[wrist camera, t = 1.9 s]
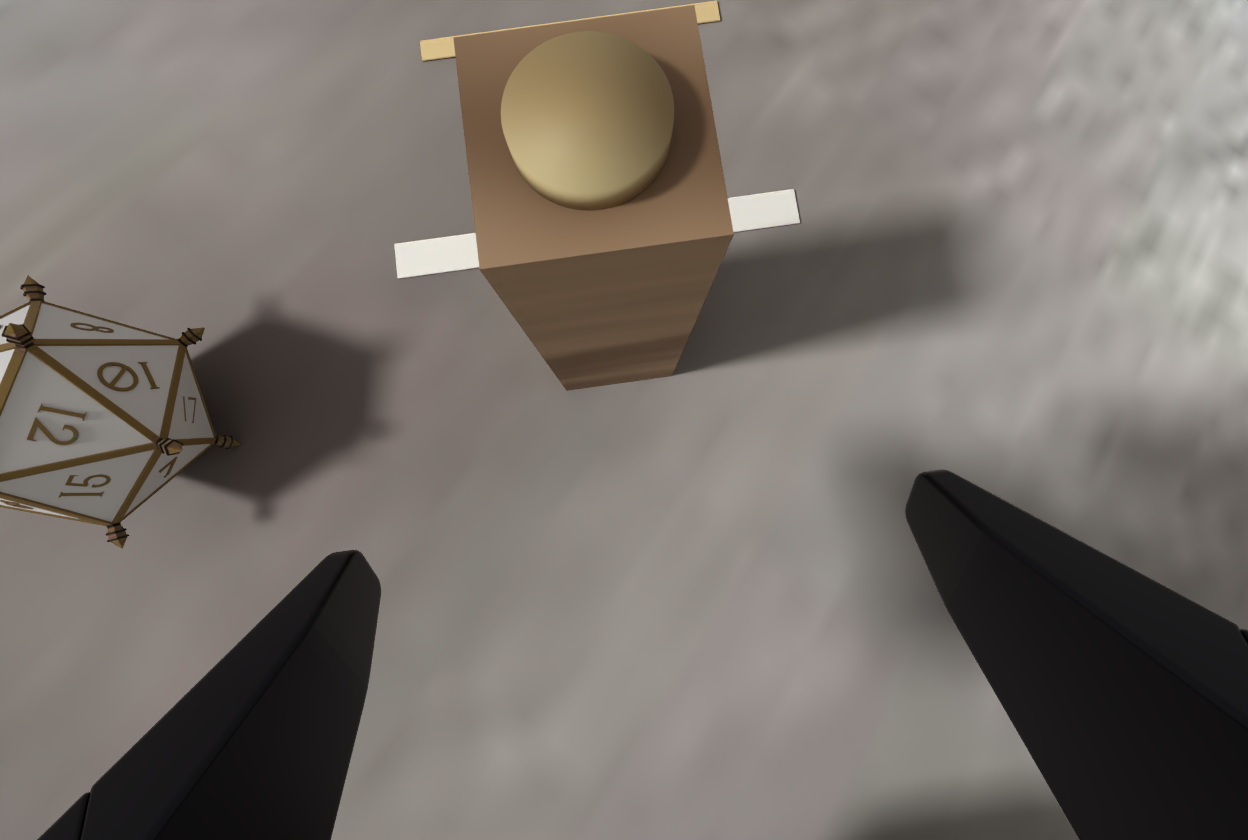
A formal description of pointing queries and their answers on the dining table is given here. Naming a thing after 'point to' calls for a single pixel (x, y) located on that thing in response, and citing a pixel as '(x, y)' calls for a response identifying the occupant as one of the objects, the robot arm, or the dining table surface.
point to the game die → (94, 413)
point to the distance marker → (446, 45)
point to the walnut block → (596, 187)
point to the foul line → (464, 253)
